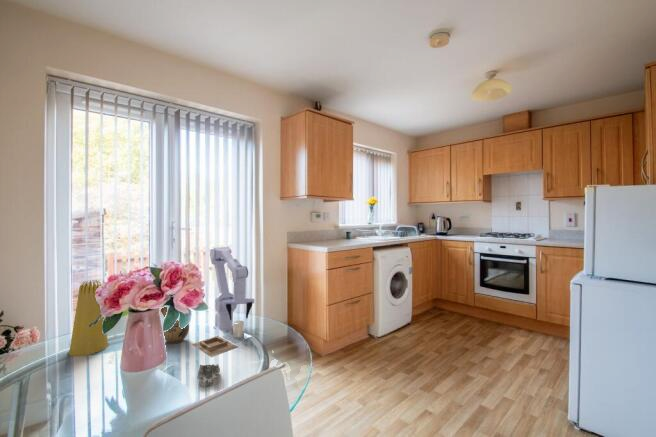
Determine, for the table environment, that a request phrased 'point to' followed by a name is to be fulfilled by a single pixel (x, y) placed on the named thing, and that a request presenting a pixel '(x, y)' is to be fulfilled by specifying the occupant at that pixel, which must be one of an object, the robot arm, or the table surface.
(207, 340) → the tray
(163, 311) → the ceramic vessel
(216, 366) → the grey speckled lump
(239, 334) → the jug
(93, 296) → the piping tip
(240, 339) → the mat
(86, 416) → the table surface
